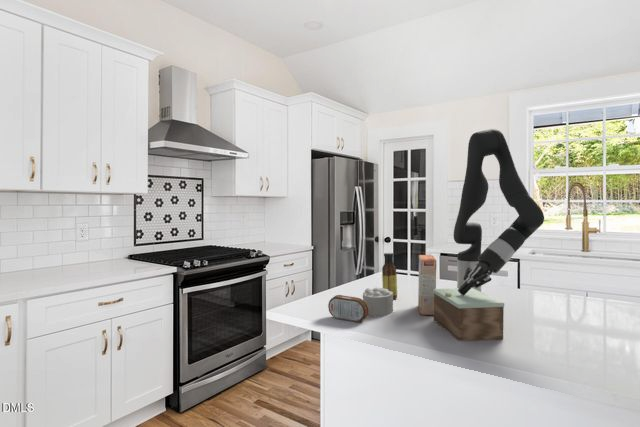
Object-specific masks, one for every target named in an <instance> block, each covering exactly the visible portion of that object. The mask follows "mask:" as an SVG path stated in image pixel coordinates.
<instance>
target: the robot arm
mask: <svg viewBox="0 0 640 427" xmlns="http://www.w3.org/2000/svg"><path fill="white" fill-rule="evenodd" d="M467 145H468V146H467V159H466V170H465V176H464V182H463V185H462V189H461V197H460V198H461V199H460V204H459V209H458V213H457V216H456V220H455V224H454V227H453V239H454V240H453V241H454V242H455V243H456V244H457V245H470V246H469V248H467V249H464V250H463V251H460V252H458V253H457V257H456V258H457V261H456V264H457V265H456V267H457V269H456V270H457V271H456V274H457V275H456V276H457V277H456V278H457V280H456V282H457V283H456V288H459V289H458V292H459V293H460V294H462V295H465V294H466V293H467V292H468V291H469V290H470V289H471V288H473V289H475V290H478V291H480V292H482V286H484V285H485V284H487V283H489V282H491V281H492V277H491V275H492V273H493V274H497V273H499V272H500V270H501V269H502V268H504V267H505V265H506V264H507V263H508V262H509V261H510V260H511V259H512V257H513V256H514V255H515V253H516V252H517V251H518V250H519V249H520V248H521V247H522V246H523V244H525V241H526V240H527V239H528V238H530V237H531V236H532V235H533V234H534V233H535V232H536V231H537V230H538V229H539V228H540V227H541V226H542V225H543V224H544V222H545V215H544V212H543V210H542V209H541V206H539V204H538V203H537V202H536V201H535V200H534V199H533V198H532V197H531V196H530V194H529V192H528V190H527V188H526V186H525V184H524V183H523V181H522V179H521V177H520V176H519V173H518V171H517V169H516V165H515V162H514V160H513V157H512V154H511V151H510V148H509V145H508V142H507V140H506V138H505V135H504V134H503V132H502V131H501V130H500V129H498V128H491V129H485V130H479V131H477V132H474V133H472V134H471V136H470V137H469V140H468V144H467ZM489 156H494V157H495V158H496V161H497V163H498V165H499V174H498V175H499V176H498V177H499V178H498V179H499V180H498V182H499V184H498V185H499V188H500V191H501V193H502V194H503V196H504V199H505V201H506V203H507V204H508V205H509V206H510V208H514V209H515V211H516V213H517V214H518V216H517V217H516V219H515V220H514V221H513V222H512V223H511V225H509V227H508V228H506V229H505V230H504V231H503V232H502V233H501V234H500V235H499V236H498V237H497V238H496V239H495V240H494V241H492V242H491V243H490V244H489V245H488V246H487V247H486V248H485V250H484V251H483V252H482V240H483V237H482V236H483V230H482V226H481V224H480V223H479V222H468V221H469V220H470V218H472V216H473V215H474V214H475V213H476V212H478V210H480V208H482V207H483V206H484V204H485V203H486V200H487V196H488V192H489V183H488V180H487V178H486V176H485V174H484V172H483V163H484V158H485V157H489Z"/></svg>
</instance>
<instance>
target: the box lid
mask: <svg viewBox="0 0 640 427" xmlns="http://www.w3.org/2000/svg"><path fill="white" fill-rule="evenodd" d="M458 289H459V288H457V287H456V288H455V287H454V288H436V289H433V293H435V294H436V295H438V296H439V297H441V298H443V299H444V300H446V301H448V302H449V303H451V304H452V305H454V306H456V307H457V308H483V307H505V302H503V301H502V300H499V299H497V298H495V297H492V296H490V295H488V294H486V293H484V292H482V291H481V292H480V291H478V290H475V289H473V288H471V289H470V290H469V291H468V292H467V293H466V294H465V295H462V294H460V293H459V292H458Z"/></svg>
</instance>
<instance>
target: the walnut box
mask: <svg viewBox="0 0 640 427" xmlns="http://www.w3.org/2000/svg"><path fill="white" fill-rule="evenodd" d="M504 307H505V306H504ZM504 307H483V308H457V307H456V306H454V305H452V304H451V303H449V302H448V301H446V300H444V299H443V298H441V297H439V296H438V295H436V294H435V293H434V315H433V321H434V322H435V323H436V324H438V326H441V328H443V329H444V330H446V332H448V333H449V334H450V335H452V336H453V338H455V339H456V340H458V342H459V341H460V342H462V341H464V342H465V341H466V342H467V341H484V340H485V341H486V340H487V341H489V340H490V341H493V340H504V315H505V314H504V313H505V312H504Z"/></svg>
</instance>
